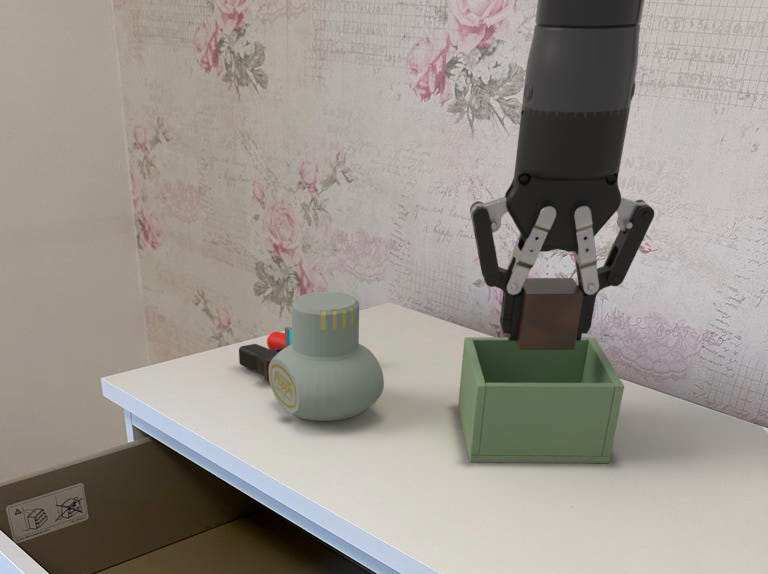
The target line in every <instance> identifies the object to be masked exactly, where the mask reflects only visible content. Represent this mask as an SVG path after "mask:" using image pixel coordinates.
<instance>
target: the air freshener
mask: <svg viewBox="0 0 768 574" xmlns="http://www.w3.org/2000/svg"><path fill="white" fill-rule="evenodd" d="M291 328H292V344H291V345H289V346H287V347H286V348H284V349H283V350H281V351H280V352H279V353H278V354H277V355H276V356H275V357H274V358H273V359H272V360H271V362H270V364H269V371H268V372H269V381H270V382H269V384H270V388H271V391H272V393H273V396H274V398H275V399H276V401H277V403H278V404H279V405H280V407H281V408H282V409H283V410H284V411H285V412H286V413H288V414H291V415H293V416H295V417H296V418H298V419H301V420H306V421H313V422H334V421H335V422H336V421H341V420H346V419H349V418H352V417H355V416H358V415H359V414H361V413H363V412H365V411H367V410H368V409H369V408H370V407H372V406H373V405H374V404H375V403H376V402H377V401H378V400H379V398H380V397H381V396H382V394H383V391H384V387H385V378H384V373H383V369H382V367H381V365H380V363H379V361H378V359H377V357H376V356H375V355H374V353H373V352H372V351H371V350H370V349H369V348H368V347H366V346H364V345H362V344H361V343H360V341H359V340H360V302H359V301H358V299H357V298H356V297H355V296H354V295H351V294H349V293H345V292H339V291H314V292H313V291H312V292H308V293H304V294H302V295H299V296H298V297H296V298H295V299H294V300H293V301H292V303H291Z"/></svg>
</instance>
